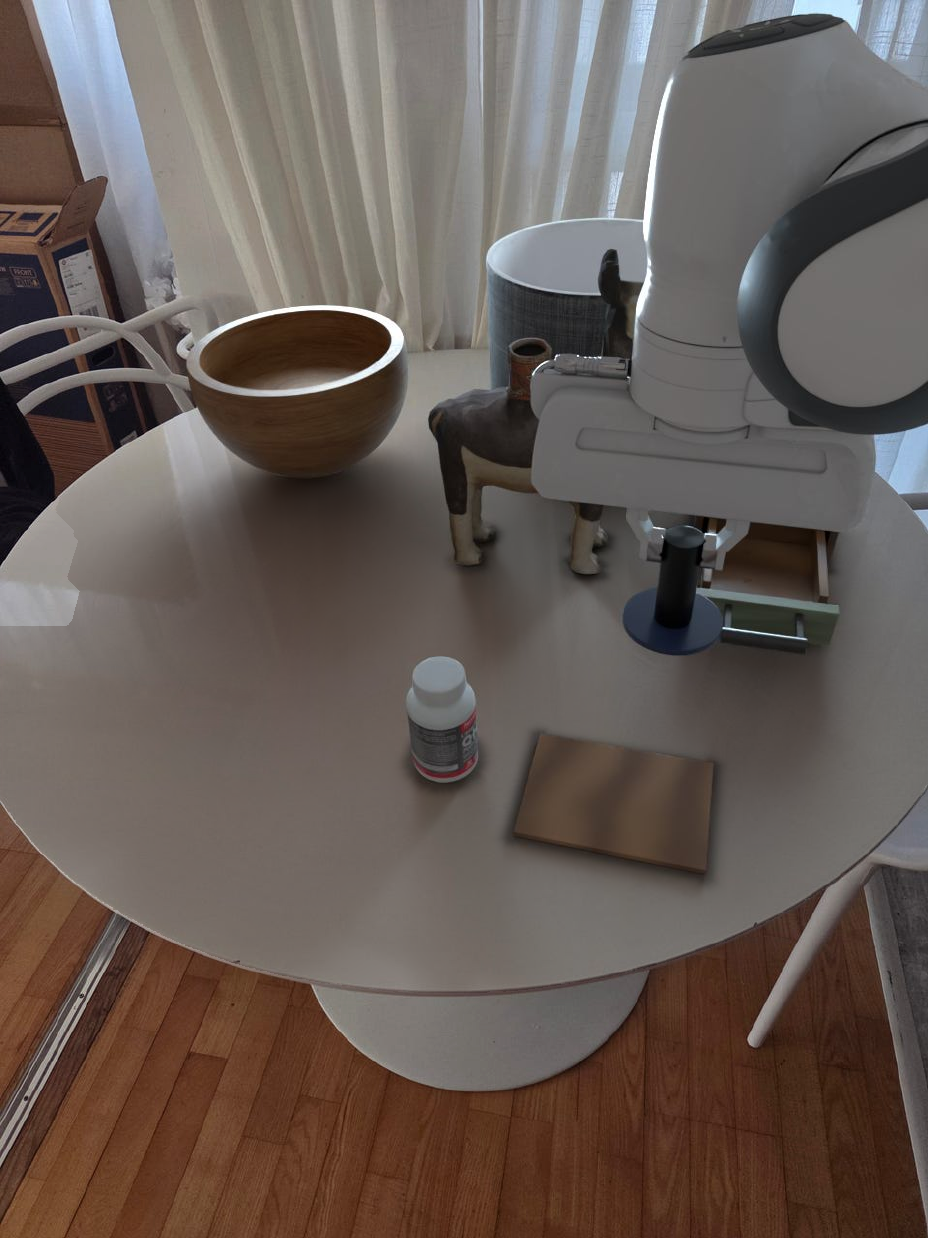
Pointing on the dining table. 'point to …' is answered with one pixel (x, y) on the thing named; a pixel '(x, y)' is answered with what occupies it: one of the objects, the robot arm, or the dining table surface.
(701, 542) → the lid
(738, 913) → the dining table surface
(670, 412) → the robot arm
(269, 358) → the bowl
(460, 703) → the pill bottle
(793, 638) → the drawer
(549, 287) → the planter
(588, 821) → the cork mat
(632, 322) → the figurine
